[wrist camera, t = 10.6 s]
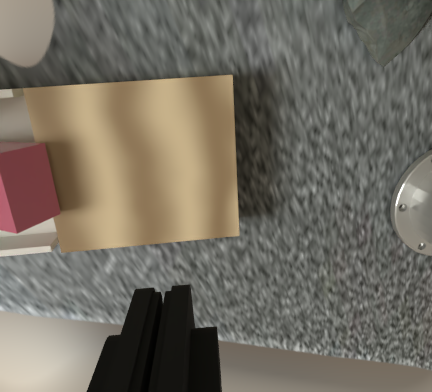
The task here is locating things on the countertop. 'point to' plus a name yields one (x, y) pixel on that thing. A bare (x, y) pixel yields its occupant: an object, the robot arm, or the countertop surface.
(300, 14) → the countertop surface
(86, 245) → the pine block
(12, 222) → the pink toy cube
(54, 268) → the countertop surface
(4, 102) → the tray
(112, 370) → the robot arm
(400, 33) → the stone
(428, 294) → the countertop surface
